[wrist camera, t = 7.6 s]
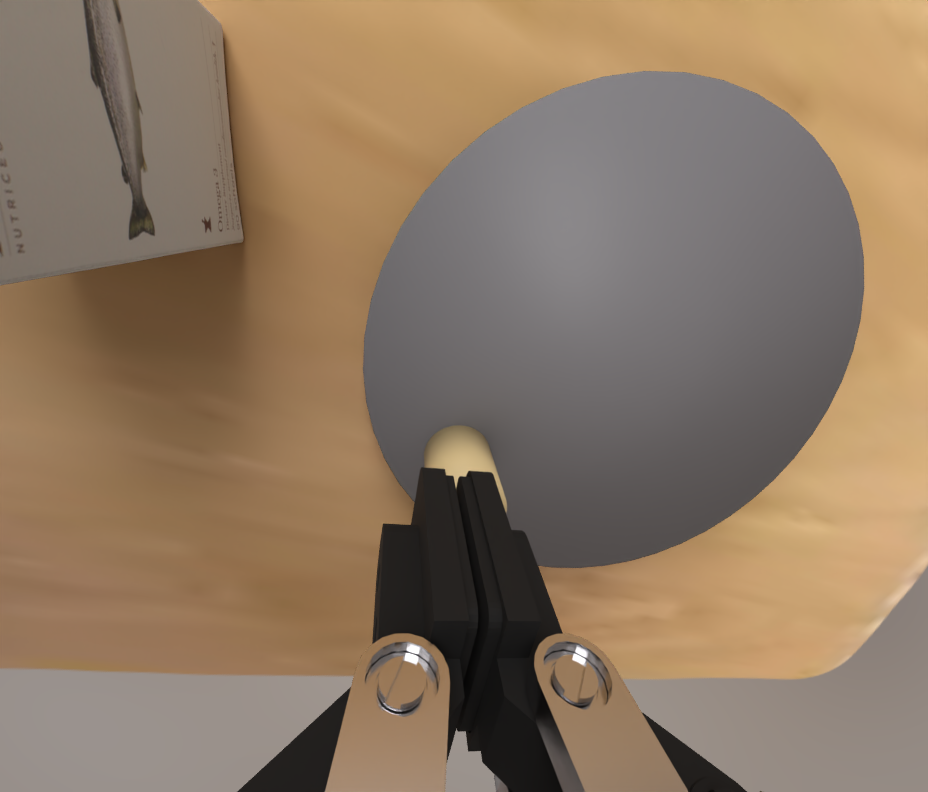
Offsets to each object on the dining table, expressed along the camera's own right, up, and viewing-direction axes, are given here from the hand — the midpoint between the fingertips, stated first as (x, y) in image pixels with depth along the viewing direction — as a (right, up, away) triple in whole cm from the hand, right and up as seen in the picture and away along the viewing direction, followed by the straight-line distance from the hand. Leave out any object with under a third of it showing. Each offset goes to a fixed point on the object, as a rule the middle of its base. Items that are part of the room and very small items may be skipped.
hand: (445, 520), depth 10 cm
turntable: (+7, +5, +11) cm, 14 cm away
